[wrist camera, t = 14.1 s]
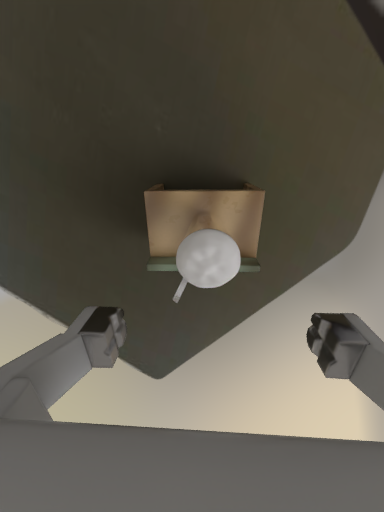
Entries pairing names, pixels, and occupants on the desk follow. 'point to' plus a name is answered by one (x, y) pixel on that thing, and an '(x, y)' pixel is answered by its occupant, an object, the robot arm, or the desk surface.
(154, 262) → the bench
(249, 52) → the desk surface
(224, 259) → the milkshake
